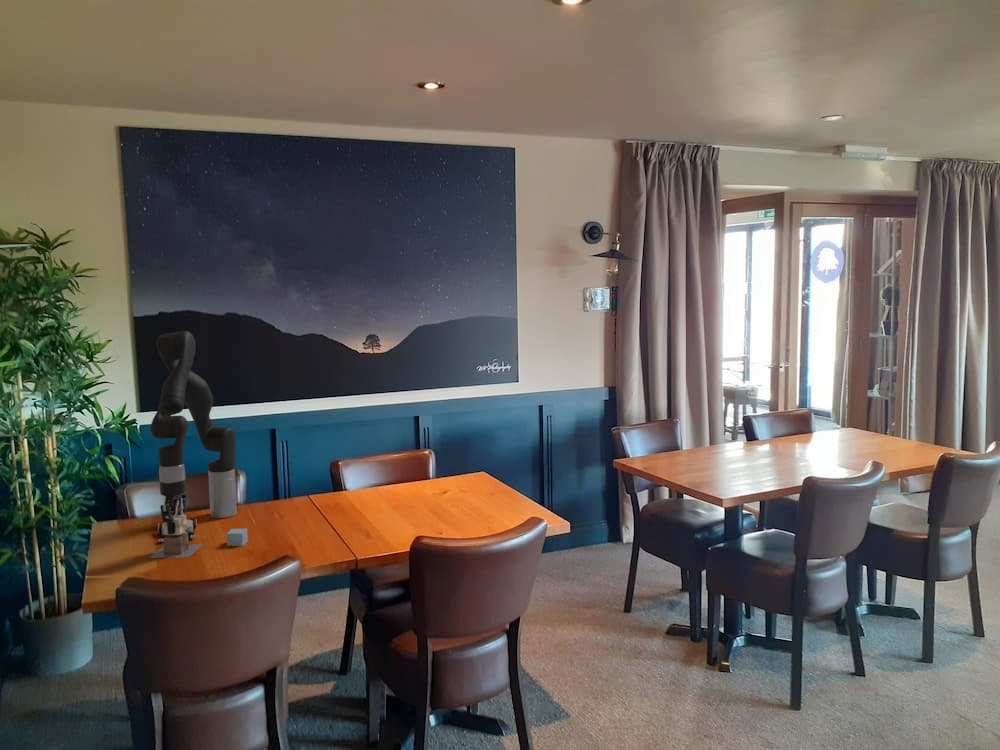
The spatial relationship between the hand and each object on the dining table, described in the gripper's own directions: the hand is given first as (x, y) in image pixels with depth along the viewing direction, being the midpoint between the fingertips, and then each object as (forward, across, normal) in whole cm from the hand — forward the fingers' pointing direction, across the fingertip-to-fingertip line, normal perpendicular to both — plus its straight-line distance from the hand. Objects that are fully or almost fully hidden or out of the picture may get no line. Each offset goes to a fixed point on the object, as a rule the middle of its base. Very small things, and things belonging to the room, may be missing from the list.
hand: (175, 530), depth 237 cm
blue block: (+7, -7, +17) cm, 20 cm away
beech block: (+1, 0, 0) cm, 1 cm away
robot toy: (+8, -15, -6) cm, 18 cm away
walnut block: (+7, 0, 0) cm, 7 cm away
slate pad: (+7, 0, 0) cm, 7 cm away
